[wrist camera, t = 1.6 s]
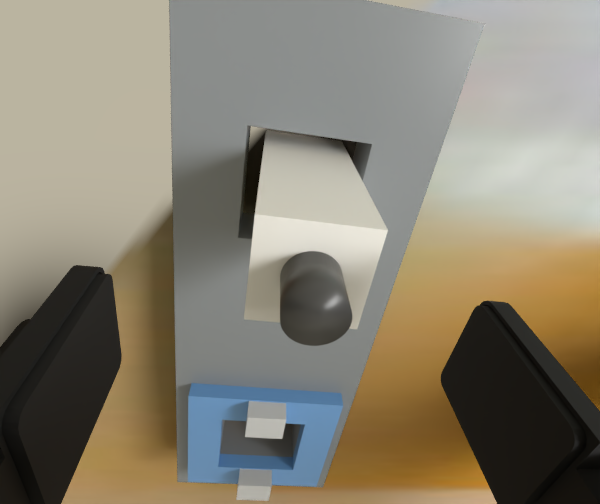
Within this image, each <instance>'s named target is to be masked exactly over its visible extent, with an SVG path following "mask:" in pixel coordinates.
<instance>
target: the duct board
mask: <svg viewBox="0 0 600 504" xmlns="http://www.w3.org/2000/svg"><path fill="white" fill-rule="evenodd" d="M169 8H170V9H169V12H170V66H171V67H170V69H171V127H172V128H171V129H172V187H173V245H174V303H175V361H176V419H177V477H178V482H194V483H221V484H238V488H237V499H236V500H259V501H269V496H270V492H271V487H272V485H276V486H303V487H323V486H324V483H325V480H326V477H327V474H328V471H329V468H330V466H331V463H332V460H333V457H334V454H335V451H336V448H337V445H338V443H339V440H340V437H341V434H342V431H343V428H344V425H345V423H346V420H347V417H348V414H349V411H350V408H351V405H352V403H353V400H354V397H355V394H356V391H357V388H358V385H359V383H360V380H361V377H362V374H363V371H364V368H365V365H366V362H367V360H368V357H369V354H370V351H371V348H372V345H373V342H374V340H375V337H376V334H377V331H378V328H379V325H380V322H381V320H382V317H383V314H384V311H385V308H386V305H387V302H388V300H389V297H390V294H391V291H392V288H393V285H394V282H395V279H396V277H397V274H398V271H399V268H400V265H401V262H402V259H403V257H404V254H405V251H406V248H407V245H408V242H409V239H410V237H411V234H412V231H413V228H414V225H415V222H416V219H417V217H418V214H419V211H420V208H421V205H422V202H423V199H424V196H425V194H426V191H427V188H428V185H429V182H430V179H431V176H432V174H433V171H434V168H435V165H436V162H437V159H438V156H439V154H440V151H441V148H442V145H443V142H444V139H445V136H446V134H447V131H448V128H449V125H450V122H451V119H452V116H453V114H454V111H455V108H456V105H457V102H458V99H459V96H460V93H461V91H462V88H463V85H464V82H465V79H466V76H467V73H468V71H469V68H470V65H471V62H472V59H473V56H474V53H475V51H476V48H477V45H478V42H479V39H480V36H481V33H482V31H483V28H484V25H485V23H480V22H475V21H470V20H464V19H459V18H454V17H449V16H444V15H439V14H434V13H429V12H423V11H418V10H413V9H408V8H403V7H397V6H393V5H387V4H382V3H377V2H372V1H367V0H169ZM250 126H254V127H261V128H267V129H274V130H281V131H288V132H294V133H301V134H308V135H315V136H321V137H328V138H335V139H341V140H348V141H355V142H357V144H356V148H355V153H354V157H353V161H352V162H353V164H354V166H355V168H356V170H357V172H358V173H359V175H360V177H361V179H362V181H363V183H364V185H365V187H366V189H367V191H368V193H369V195H370V197H371V199H372V200H373V202H374V204H375V206H376V208H377V210H378V212H379V214H380V216H381V218H382V220H383V222H384V224H385V226H386V227H387V229H388V232H387V235H386V238H385V242H384V245H383V248H382V251H381V254H380V258H379V261H378V264H377V267H376V271H375V274H374V277H373V280H372V283H371V287H370V290H369V293H368V296H367V299H366V303H365V306H364V309H363V312H362V315H361V319H360V322H359V325H358V328H357V329H348V331H347V332H346V333H345V334H344V335H343V336H342V337H340V338H339V339H337V340H336V341H334V342H331V343H329V344H325V345H320V346H308V345H303V344H300V343H297V342H295V341H293V340H292V339H290V338H289V337H288V336H287V335H286V334H285V333H284V331H283V330H282V328H281V324H280V323H279V322H268V321H256V320H245V319H244V312H245V302H246V293H247V283H248V274H249V264H250V255H251V245H252V236H253V226H254V217H255V214H252V213H244V212H243V206H244V195H245V183H246V172H247V160H248V149H249V137H250Z"/></svg>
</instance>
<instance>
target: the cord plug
mask: <svg viewBox="0 0 600 504" xmlns="http://www.w3.org/2000/svg"><path fill="white" fill-rule="evenodd" d="M387 232H388V229H387V227H386V226H385V224H384V222H383V220H382V218H381V216H380V214H379V212H378V210H377V208H376V206H375V204H374V202H373V200H372V199H371V197H370V195H369V193H368V191H367V189H366V187H365V185H364V183H363V181H362V179H361V177H360V175H359V173H358V172H357V170H356V168H355V166H354V164H353V162H352V160H351V158H350V156H349V154H348V152H347V150H346V148H345V146H344V145H343V143H342V141H337V140H331V139H324V138H317V137H310V136H304V135H297V134H290V133H283V132H277V131H270V130H266V134H265V141H264V149H263V156H262V164H261V171H260V179H259V186H258V194H257V201H256V209H255V217H254V226H253V236H252V245H251V255H250V264H249V274H248V283H247V293H246V302H245V312H244V319H245V320H256V321H268V322H279V323H280V324H281V328H282V330H283V331H284V333H285V334H286V335H287V336H288V337H289V338H290V339H292V340H293V341H295V342H297V343H300V344H303V345H308V346H320V345H325V344H329V343H331V342H334V341H336V340H337V339H339V338H340V337H342V336H343V335H344V334H345V333H346V332H347V331H348V329H357V328H358V325H359V322H360V319H361V315H362V312H363V309H364V306H365V303H366V299H367V296H368V293H369V290H370V287H371V283H372V280H373V277H374V274H375V271H376V267H377V264H378V261H379V258H380V254H381V251H382V248H383V245H384V242H385V238H386V235H387Z"/></svg>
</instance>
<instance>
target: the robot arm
mask: <svg viewBox="0 0 600 504" xmlns="http://www.w3.org/2000/svg"><path fill="white" fill-rule="evenodd" d="M120 364H121V346H120V338H119V330H118V322H117V313H116V305H115V297H114V289H113V280H112V276H111V275H110V274H105V273H104V270H103V268H101V267H90V266H78V265H76V266H73V267H72V268H71V269H70V270H69V272H68V273H67V274H66V275H65V277H64V278H63V279H62V281H61V282H60V283H59V284H58V286H57V287H56V288H55V289H54V291H53V292H52V293H51V294H50V296H49V297H48V298H47V299H46V301H45V302H44V303H43V304H42V306H41V307H40V308H39V309H38V311H37V312H36V313H35V314H34V316H33V317H32V318H31V319H27V320H25V321H23V322H21V323H20V324H19V325H18V326H17V327H16V329H15V330H14V331H13V333H11V335H10V336H9V337H8V339H7V340H6V341H5V342H4V343H3V344H2V346H1V347H0V504H61V503H62V500H63V498H64V496H65V493H66V491H67V489H68V486H69V484H70V482H71V479H72V477H73V475H74V472H75V470H76V468H77V465H78V463H79V461H80V458H81V456H82V454H83V451H84V449H85V447H86V445H87V442H88V440H89V438H90V435H91V433H92V431H93V428H94V426H95V424H96V421H97V419H98V417H99V414H100V412H101V410H102V407H103V405H104V403H105V400H106V398H107V396H108V393H109V391H110V389H111V387H112V384H113V382H114V380H115V377H116V375H117V373H118V370H119V368H120ZM441 383H442V387H443V389H444V391H445V393H446V395H447V397H448V399H449V402H450V404H451V406H452V408H453V410H454V412H455V414H456V417H457V419H458V421H459V423H460V425H461V427H462V429H463V431H464V434H465V436H466V438H467V440H468V442H469V444H470V446H471V449H472V451H473V453H474V455H475V457H476V459H477V461H478V463H479V466H480V468H481V470H482V472H483V474H484V476H485V478H486V480H487V483H488V485H489V487H490V489H491V491H492V493H493V495H494V498H495V500H496V502H497V504H600V411H599V410H598V409H597V408H596V406H595V405H594V404H593V403H592V402H591V400H590V399H589V398H588V397H587V396H586V394H585V393H584V392H583V391H582V390H581V389H580V387H579V386H578V385H577V384H576V383H575V381H574V380H573V379H572V378H571V377H570V375H569V374H568V373H567V372H566V371H565V369H564V368H563V367H562V366H561V365H560V364H559V362H558V361H557V360H556V359H555V358H554V356H553V355H552V354H551V353H550V352H549V350H548V349H547V348H546V347H545V346H544V344H543V343H542V342H541V341H540V340H539V339H538V337H537V336H536V335H535V334H534V333H533V331H532V330H531V329H530V328H529V327H528V325H527V324H526V323H525V322H524V321H523V319H522V318H521V317H520V316H519V315H518V314H517V312H516V311H515V310H514V309H513V308H512V306H511V305H509V304H508V303H505V302H494V301H484V302H482V303H481V304H480V306H477V307H475V309H474V310H473V312H472V314H471V316H470V318H469V320H468V322H467V324H466V326H465V328H464V330H463V332H462V334H461V336H460V338H459V340H458V342H457V344H456V346H455V348H454V350H453V352H452V354H451V356H450V358H449V359H448V361H447V363H446V365H445V367H444V369H443V371H442V374H441Z"/></svg>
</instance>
